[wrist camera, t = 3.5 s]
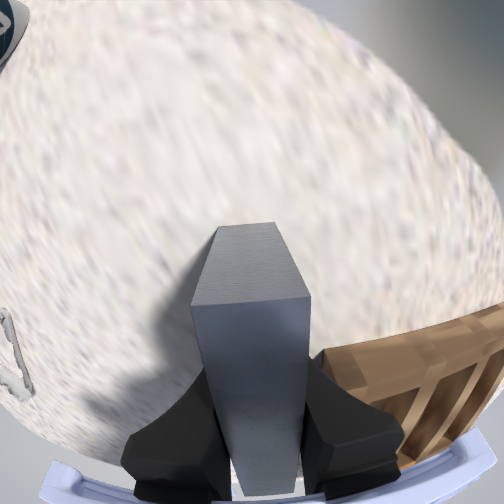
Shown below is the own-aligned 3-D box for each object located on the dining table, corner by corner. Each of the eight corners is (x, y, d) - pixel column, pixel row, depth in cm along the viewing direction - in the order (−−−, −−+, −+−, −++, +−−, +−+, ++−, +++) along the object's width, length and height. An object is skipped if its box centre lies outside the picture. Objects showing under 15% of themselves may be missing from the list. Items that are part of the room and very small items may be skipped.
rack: (444, 425, 20) (456, 446, 17) (305, 469, 20) (310, 497, 17) (505, 301, 15) (531, 321, 11) (323, 349, 14) (341, 395, 11)
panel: (280, 402, 16) (293, 492, 9) (243, 405, 16) (244, 496, 9) (274, 222, 12) (311, 296, 5) (218, 226, 12) (190, 305, 5)
